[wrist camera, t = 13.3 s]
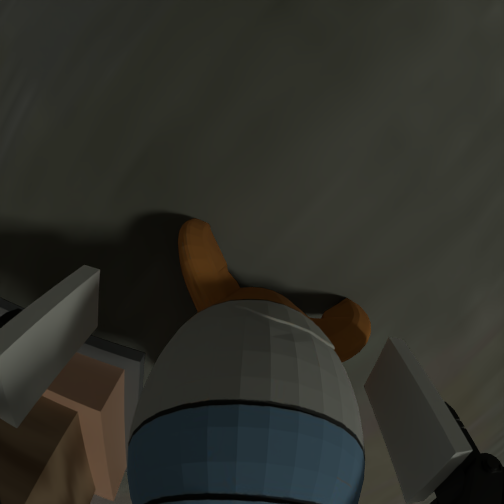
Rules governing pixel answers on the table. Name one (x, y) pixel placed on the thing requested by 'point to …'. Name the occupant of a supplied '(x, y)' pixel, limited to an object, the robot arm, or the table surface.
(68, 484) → the walnut brick
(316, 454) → the toy rocket
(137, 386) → the build base
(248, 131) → the table surface
